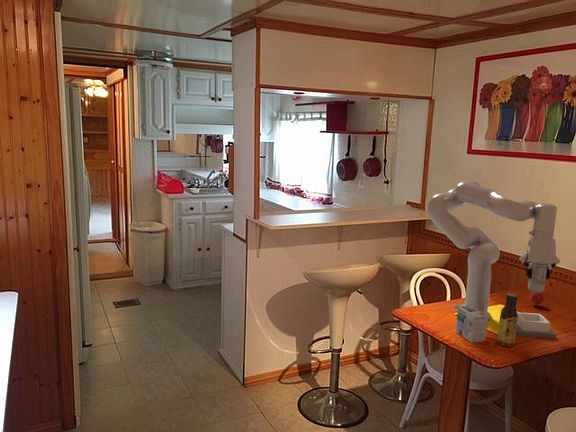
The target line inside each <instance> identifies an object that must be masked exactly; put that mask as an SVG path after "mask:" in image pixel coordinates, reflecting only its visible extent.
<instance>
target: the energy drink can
mask: <svg viewBox="0 0 576 432" xmlns="http://www.w3.org/2000/svg"><path fill="white" fill-rule="evenodd" d="M547 265H548V264H546V263H545V261H544V260H541V261H540V262H539V263H534V264H533V265H532V267H531V269H532V275H531V278H528V285H527V288H528V291H529V292H531V293H533V292H536V293H541V294H543V292H544V291H545V289H546V288H545V287H546V280H547V279H546V273H547Z"/></svg>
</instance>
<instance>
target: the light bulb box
mask: <svg viewBox="0 0 576 432" xmlns="http://www.w3.org/2000/svg"><path fill="white" fill-rule="evenodd" d="M488 321H489V319H488V315H487V314H485V313H483V312H481V311H480V310H478V309H476V308H474V307H473V306H467V307H458V309H457V315H456V326H455V332H456V333H457V334H458V335H460V336H461V337H463V338H464V339H466V340H467V341H469V343H480V342H481V343H482V342H486V336H487V329H488V328H487V327H488Z"/></svg>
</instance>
